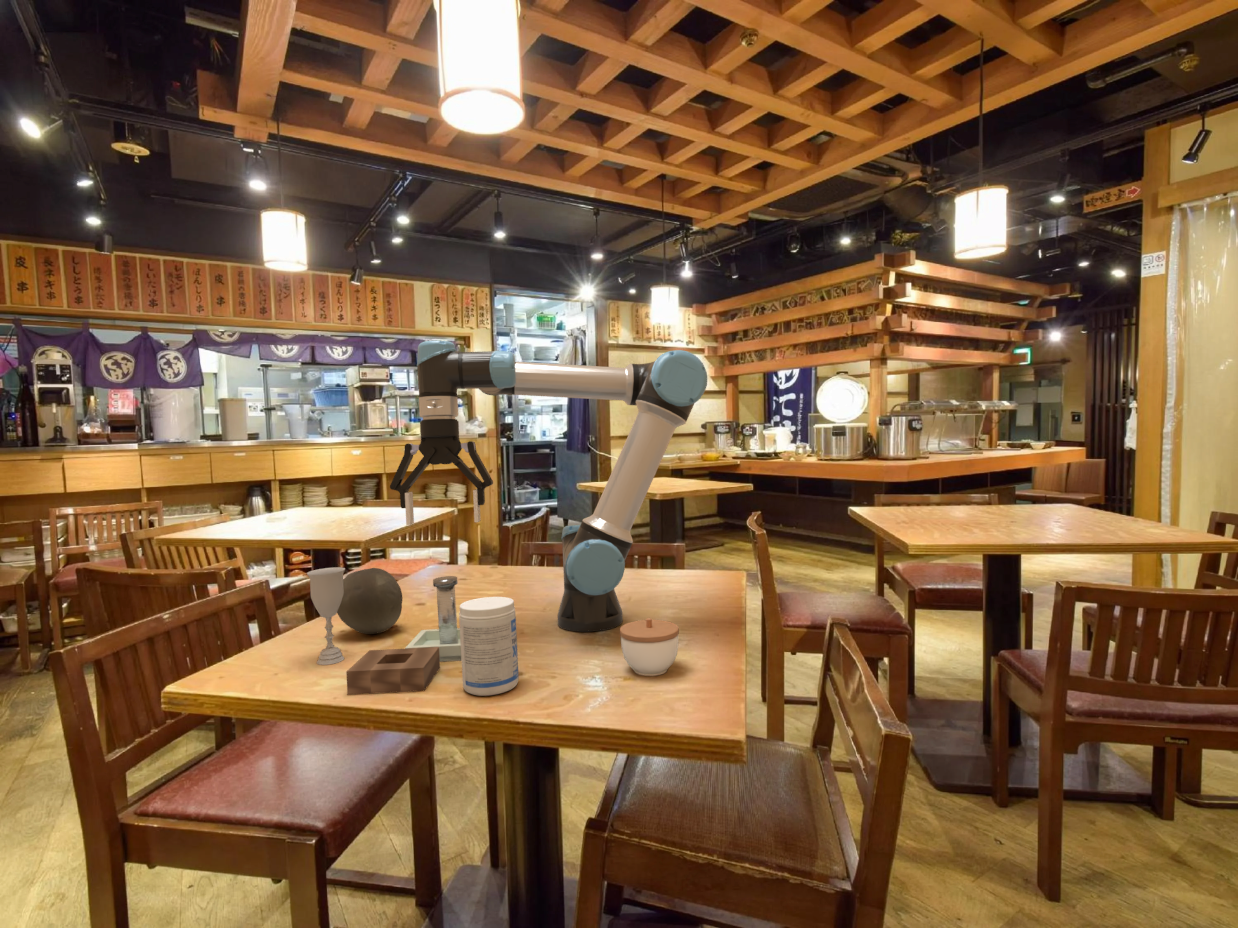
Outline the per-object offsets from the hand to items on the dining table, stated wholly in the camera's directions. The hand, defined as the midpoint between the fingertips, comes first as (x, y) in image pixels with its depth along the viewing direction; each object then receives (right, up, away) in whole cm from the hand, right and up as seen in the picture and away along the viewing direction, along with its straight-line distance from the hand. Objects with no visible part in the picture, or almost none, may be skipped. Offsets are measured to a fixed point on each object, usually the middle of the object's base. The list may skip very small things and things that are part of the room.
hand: (443, 523), depth 126 cm
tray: (+1, -26, +1) cm, 26 cm away
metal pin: (+1, -25, +1) cm, 25 cm away
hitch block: (-5, -27, -14) cm, 31 cm away
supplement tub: (+13, -27, -19) cm, 35 cm away
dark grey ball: (-21, -27, +15) cm, 37 cm away
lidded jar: (+41, -26, -13) cm, 51 cm away
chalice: (-22, -28, -2) cm, 35 cm away
